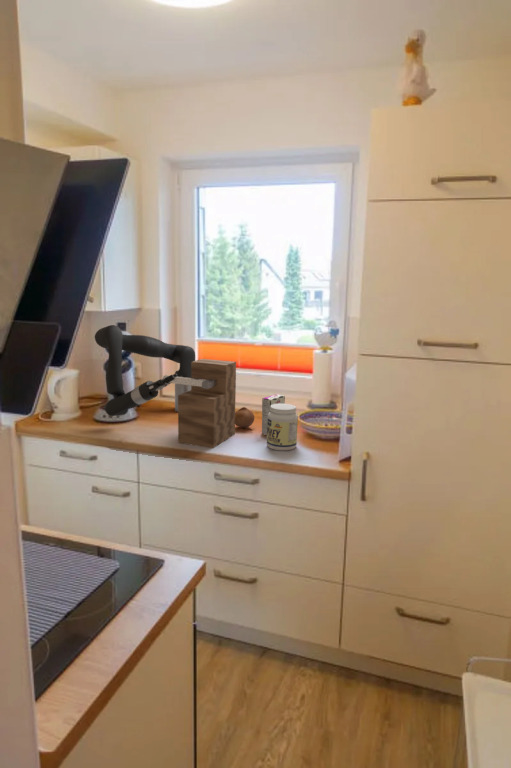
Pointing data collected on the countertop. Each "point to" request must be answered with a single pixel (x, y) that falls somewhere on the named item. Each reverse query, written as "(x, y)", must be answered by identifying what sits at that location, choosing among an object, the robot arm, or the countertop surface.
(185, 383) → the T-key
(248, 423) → the onion
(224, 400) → the brown wooden stepped block
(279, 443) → the supplement tub
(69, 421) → the countertop surface
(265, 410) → the candy bar box
